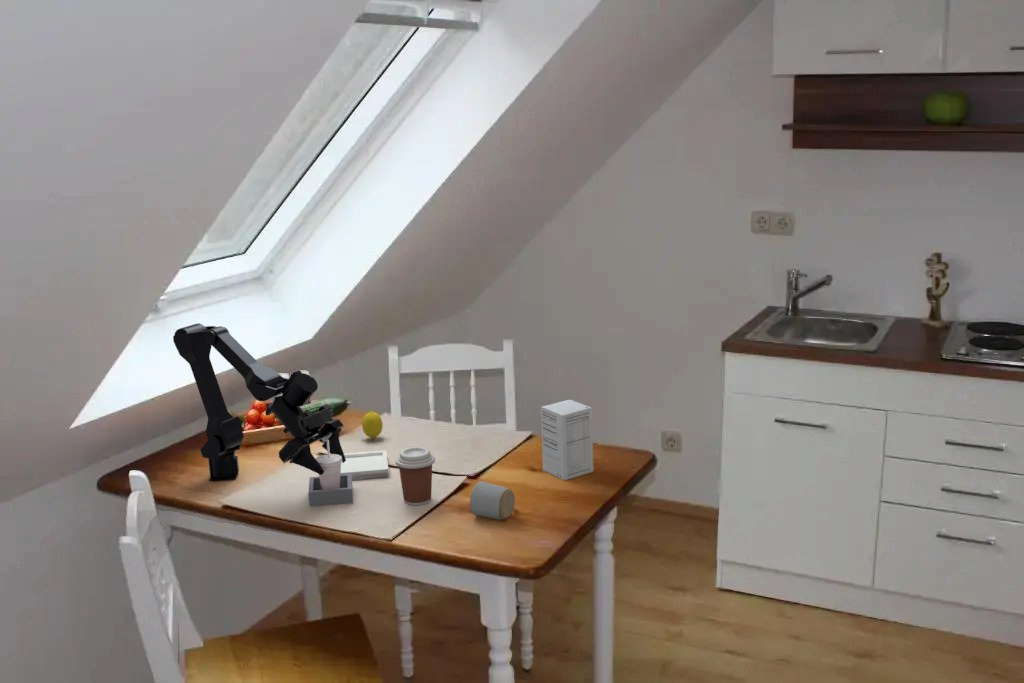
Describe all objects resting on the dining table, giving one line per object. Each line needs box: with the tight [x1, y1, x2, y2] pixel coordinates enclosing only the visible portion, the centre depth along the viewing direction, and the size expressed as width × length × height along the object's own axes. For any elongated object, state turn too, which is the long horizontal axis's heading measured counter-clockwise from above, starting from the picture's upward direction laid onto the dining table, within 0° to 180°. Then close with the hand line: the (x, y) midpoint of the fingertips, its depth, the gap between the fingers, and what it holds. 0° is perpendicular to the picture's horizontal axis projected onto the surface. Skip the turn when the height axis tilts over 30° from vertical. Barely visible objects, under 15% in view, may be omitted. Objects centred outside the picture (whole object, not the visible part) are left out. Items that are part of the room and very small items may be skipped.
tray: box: [340, 449, 390, 481], centre depth 268 cm, size 14×14×2 cm
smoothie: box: [315, 440, 342, 490], centre depth 249 cm, size 6×6×14 cm
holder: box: [307, 474, 354, 508], centre depth 250 cm, size 10×10×4 cm
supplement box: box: [540, 399, 594, 481], centre depth 260 cm, size 10×9×17 cm
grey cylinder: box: [469, 480, 516, 521], centre depth 237 cm, size 11×8×8 cm
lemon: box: [361, 410, 383, 440], centre depth 290 cm, size 6×6×8 cm
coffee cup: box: [395, 446, 436, 507], centre depth 246 cm, size 9×9×12 cm
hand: (333, 467), depth 248 cm, fingers open, 8 cm apart
